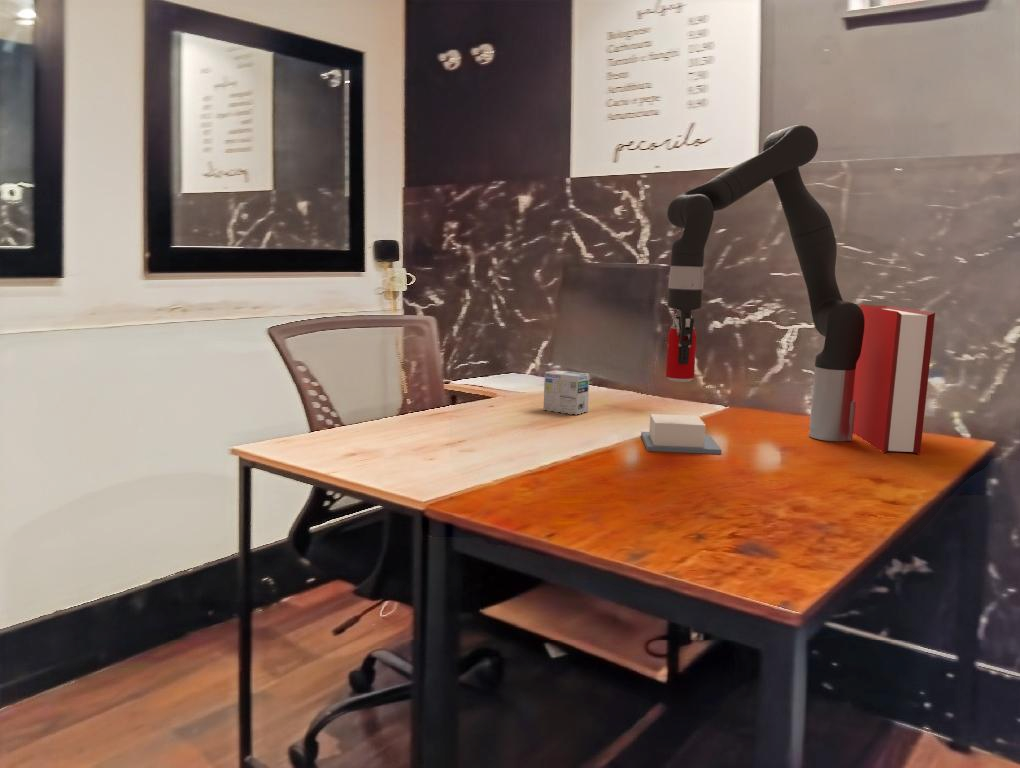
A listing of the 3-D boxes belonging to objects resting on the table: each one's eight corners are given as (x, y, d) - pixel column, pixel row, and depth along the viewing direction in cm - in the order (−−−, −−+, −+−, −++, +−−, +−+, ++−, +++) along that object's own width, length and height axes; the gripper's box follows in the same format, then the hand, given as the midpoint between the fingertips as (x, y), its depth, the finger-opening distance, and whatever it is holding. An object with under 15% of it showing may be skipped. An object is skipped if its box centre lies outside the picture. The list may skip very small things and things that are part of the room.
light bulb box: (588, 412, 229) (590, 373, 227) (577, 415, 223) (578, 375, 222) (554, 407, 235) (555, 369, 233) (542, 410, 229) (543, 371, 227)
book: (920, 455, 189) (935, 312, 184) (883, 453, 190) (897, 311, 185) (878, 430, 216) (890, 305, 211) (846, 429, 216) (858, 304, 212)
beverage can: (692, 379, 191) (695, 326, 190) (695, 382, 185) (698, 328, 184) (664, 377, 192) (667, 325, 190) (666, 381, 186) (669, 327, 184)
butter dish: (708, 438, 199) (710, 413, 198) (721, 454, 183) (723, 427, 183) (641, 435, 200) (642, 410, 199) (647, 450, 184) (649, 424, 184)
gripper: (708, 288, 178) (703, 367, 181) (697, 286, 192) (693, 359, 195) (672, 287, 179) (667, 365, 181) (664, 285, 193) (660, 357, 195)
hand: (680, 362), depth 188 cm, fingers closed on beverage can, 6 cm apart
